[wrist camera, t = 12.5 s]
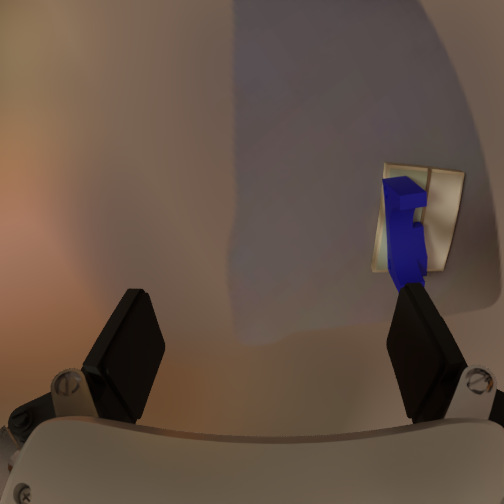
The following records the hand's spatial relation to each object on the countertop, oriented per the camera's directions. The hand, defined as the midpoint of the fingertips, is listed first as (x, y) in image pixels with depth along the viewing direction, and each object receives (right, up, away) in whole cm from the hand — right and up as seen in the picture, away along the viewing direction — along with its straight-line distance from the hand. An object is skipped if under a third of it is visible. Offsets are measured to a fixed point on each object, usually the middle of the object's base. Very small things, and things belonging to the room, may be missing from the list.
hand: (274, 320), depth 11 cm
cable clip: (+17, +6, +23) cm, 30 cm away
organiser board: (+20, +7, +24) cm, 32 cm away
